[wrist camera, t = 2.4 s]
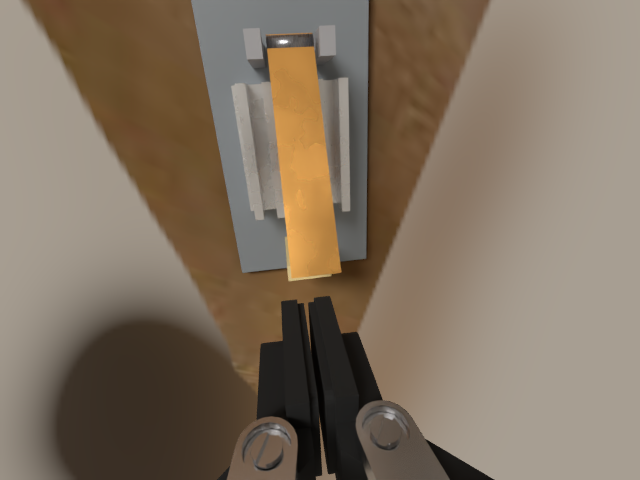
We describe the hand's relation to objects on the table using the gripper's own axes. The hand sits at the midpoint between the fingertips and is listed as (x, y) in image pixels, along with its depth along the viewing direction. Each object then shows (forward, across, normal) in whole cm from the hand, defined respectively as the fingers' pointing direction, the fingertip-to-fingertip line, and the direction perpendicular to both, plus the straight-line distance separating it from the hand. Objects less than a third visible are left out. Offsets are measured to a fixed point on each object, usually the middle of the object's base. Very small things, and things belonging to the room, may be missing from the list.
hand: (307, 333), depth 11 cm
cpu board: (+21, -1, -4) cm, 21 cm away
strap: (+12, -1, -4) cm, 13 cm away
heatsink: (+21, -1, -4) cm, 21 cm away
